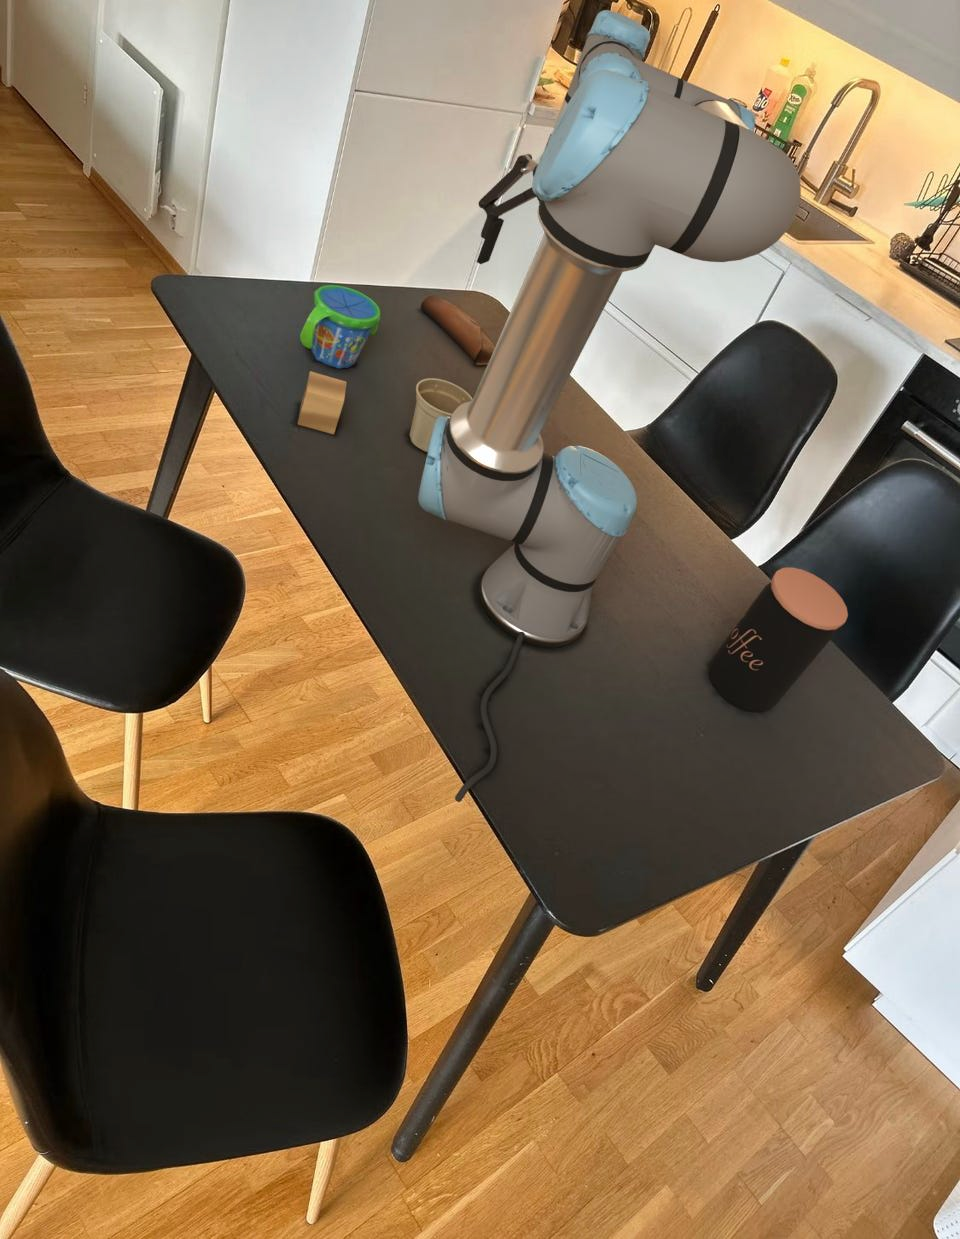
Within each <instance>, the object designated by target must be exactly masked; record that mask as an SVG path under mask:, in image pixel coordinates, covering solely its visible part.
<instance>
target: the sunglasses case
mask: <svg viewBox="0 0 960 1239" xmlns="http://www.w3.org/2000/svg"><path fill="white" fill-rule="evenodd" d="M420 310H422V311H423V312H424V313H425V314H426V315H427V316H429V317H430V319H432V320H434V322H435V323H437V324H438V325H439V326H441V328H442V329H443V330H444V331H445V332H446V333H447V334H448V335H449V336H450V337H451V338H452V339H454V341H455V342H456V343H457V344H458V345H459V346H460V347H461V348H462V349H463V350H464V351H465V353H466V354H467V355H469V357H470V358H471V359H472V360H473V361H474V362H475V365H476V366H487V365H488V363H489V361H490V358H491V356H492V354H493V351H494V349H495V347H496V345H494V343H493V342H492V341H491V339H489V337H488V336H487V335H486V334H485V333H484V331H482V327H481V326H480V325H479V324H478V323H477V321H475V320H474V319H473V318H472V317H471V316H470V315H468V314H466V312H464V311H463V310H462V309H461V308H459V307H457V305H454V304H453V303H451V302H449V301H448V300H445V299H443V298H441V297H439V296H436V295H429V296H427V297H426V298H424V299H423V301H422V302H421V305H420Z"/></svg>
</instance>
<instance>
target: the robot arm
mask: <svg viewBox="0 0 960 1239" xmlns="http://www.w3.org/2000/svg"><path fill="white" fill-rule="evenodd" d="M650 40H651V34H650V31H649V30H648V29H647V28H646V26H644V25H642V24H641V23H640V22H638V21H636V20H634V19H632V18H630V17H629V16H627V15H624V14H621V13H619V12H616V11H613V10H609V9H604V10H601V11H600V12H598V13H597V15H596V17H595V18H594V21H593V24H592V26H591V29H590V30H589V32H587V35H586V41H585V43H584V46H583V48H582V51H581V53H580V56H579V59H578V62H577V65H576V67H575V70H574V73H573V74H572V79H571V81H570V84H569V86H568V89H567V91H566V94H565V96H564V98H563V101H562V103H561V106H560V107H559V111H558V113H557V116H556V118H555V121H554V123H553V126H552V127H553V130H552V132H551V133H550V134H549V137H548V139H547V142H546V145H545V147H544V150H543V152H542V155H541V156H540V159H539V161H538V162H537V161H535V160H534V159H533V155H532V154H530V153H525V154H521V155H519V156H518V157H517V158H516V161H515V162H514V164H513V167H512V168H511V169H510V170H509V172H507V173H506V174H505V175H504V176H503V178H501V179H500V180H499V181H498V182H497V183H496V184H495V185H494V186H493V187H492V188H490V190H488V192H487V193H486V194H484V196H483V197H481V198H480V200H478V203H477V204H478V207H479V208H480V209H482V210H483V211H484V212H485V214H486V218H485V221H484V223H483V227H482V229H481V232H480V238H482V239H484V241H483V242H482V246H481V249H480V252H479V254H478V256H477V260H476V263H478V264H479V265H483V264H485V263H488V262H489V261H490V260H491V256H492V255H493V252H494V249H495V246H496V243H497V240H498V238H499V235H500V232H501V230H502V228H503V225H504V222H505V219H503V218H501V216H503V215H504V214H506V213H508V212H510V211H512V210H514V209H516V208H518V207H519V206H521V205H524V204H525V203H527V202H529V201H531V200H534V199H535V198H537V199H536V200H537V201H538V207H537V218H538V222H539V223H540V226H541V228H542V230H543V231H544V233H543V235H542V238H541V239H540V243H539V244H538V247H537V249H536V251H535V254H534V256H533V258H532V261H531V263H530V265H529V267H528V270H527V272H526V275H525V276H524V279H523V282H522V284H521V286H520V288H519V290H518V294H517V295H516V298H515V300H514V302H513V305H512V307H511V309H510V311H509V315H508V316H507V319H506V321H505V324H504V326H503V328H502V331H501V333H500V335H499V337H498V340H497V342H496V344H495V349H494V351H493V354H492V356H491V358H490V361H489V363H488V365H486V368H485V369H484V372H483V375H482V377H481V379H480V382H479V383H478V386H477V389H476V391H475V393H474V395H473V397H472V399H473V400H472V401H469V402H466V403H464V404H462V405H460V406H459V407H458V408H457V409H456V410H455V411H454V412H453V414H452V416H451V418H450V417H448V416H447V417H443V416H440V417H438V418H437V419H436V421H435V425H434V428H433V432H432V436H431V441H430V445H429V449H428V452H427V455H426V458H425V464H424V467H423V471H422V476H421V480H420V486H419V490H418V496H417V501H418V504H419V506H420V507H421V509H423V511H425V512H427V513H429V514H431V515H433V516H436V517H438V518H440V519H442V520H443V521H446V522H449V523H455V524H458V525H461V526H463V527H467V528H470V529H473V530H476V531H479V532H482V533H485V534H488V535H490V536H494V537H496V538H500V539H502V540H506V541H509V542H512V543H513V545H511V546H510V547H509V548H508V549H507V550H505V552H503V553H502V554H501V555H500V556H499V557H498V558H497V559H496V560H495V561H494V562H492V563H491V564H490V565H489V567H487V569H486V570H485V572H484V574H483V575H482V577H481V580H480V582H479V584H478V598H479V602H480V604H481V607H482V609H483V611H484V612H485V614H486V615H487V616H488V618H489V619H490V620H491V621H492V622H493V623H494V624H495V625H496V626H497V627H498V628H499V629H500V630H502V631H503V632H504V633H506V634H508V635H509V636H511V637H513V638H514V639H516V640H515V642H514V645H513V647H512V650H511V652H510V656H509V658H508V660H507V663H506V665H505V667H504V668H503V670H502V671H501V672H500V673H499V675H497V677H496V678H495V679H494V680H492V681H491V683H490V684H488V686H487V687H486V689H485V690H484V692H483V694H482V696H481V699H480V705H479V707H480V708H479V712H480V713H479V714H480V719H481V722H482V726H483V729H484V732H485V734H486V737H487V740H488V745H489V759H488V761H487V763H486V764H485V766H484V767H483V768H482V769H480V770H479V771H478V772H476V773H474V774H473V775H472V776H470V777H469V778H468V779H467V780H466V781H465V783H463V785H462V786H461V787H460V788H459V790H458V792H457V793H456V795H455V797H454V800H455V802H457V803H460V802H462V801H463V799H464V798H465V797H466V795H467V793H468V792H469V790H470V789H471V788H472V787H473V786H474V785H475V784H476V783H477V782H479V781H480V780H481V779H483V778H484V777H486V776H487V775H489V774H490V773H491V771H493V769H494V767H495V765H496V763H497V759H498V745H497V739H496V736H495V733H494V730H493V728H492V725H491V722H490V719H489V715H488V703H489V699H490V697H491V695H492V694H493V692H494V691H495V689H496V688H497V687H498V686H499V685H500V684H501V683H502V682H503V681H504V680H505V679H506V678H507V677H508V676H509V674H510V672H511V671H512V669H513V667H514V665H515V663H516V660H517V659H518V658H517V657H518V655H519V652H520V649H521V647H522V644H523V643H526V644H528V645H532V646H535V647H539V648H548V649H551V648H554V649H555V648H561V647H565V646H568V645H570V644H572V643H574V642H575V641H576V640H577V639H578V638H579V637H580V635H581V634H582V632H583V630H584V628H585V627H586V625H587V622H588V619H589V615H590V614H589V613H590V606H591V601H592V594H593V593H592V592H593V587H594V586H595V583H596V581H597V579H598V578H599V576H600V574H601V573H602V571H603V569H604V568H605V566H606V564H607V562H608V561H609V559H610V557H611V556H612V555H613V552H614V550H615V549H616V547H617V545H618V543H619V542H620V541H621V539H622V538H623V536H624V535H625V534H626V533H627V531H628V528H629V526H630V523H631V520H632V518H633V516H634V514H635V512H636V511H637V505H638V498H637V493H636V489H635V487H634V485H633V483H632V481H631V480H630V479H629V477H628V476H627V475H626V474H625V472H623V470H622V469H621V467H619V466H618V465H617V464H616V463H615V462H613V461H612V460H611V459H609V458H608V457H607V456H605V455H603V454H602V453H600V452H598V451H596V450H593V449H592V448H588V447H587V446H586V447H585V446H583V445H574V446H573V445H568V446H567V445H566V446H565V447H563V448H562V449H560V451H557V453H556V455H555V456H554V455H550V454H548V453H545V452H544V441H543V439H542V435H541V431H543V430H542V429H543V428H544V426H545V424H546V422H547V420H548V418H549V416H550V414H551V412H552V411H553V409H554V406H555V405H556V403H557V401H558V399H559V397H560V395H561V393H562V391H563V389H564V388H565V386H566V383H567V381H568V380H569V378H570V375H571V374H572V371H573V370H574V368H575V365H576V364H577V362H578V360H579V358H580V356H581V354H582V352H583V350H584V348H585V347H586V344H587V342H588V341H589V338H590V337H591V335H592V333H593V330H594V329H595V327H596V325H597V323H598V322H599V319H600V317H601V315H602V314H603V311H604V310H605V307H606V305H607V304H608V302H609V300H610V298H611V296H612V294H613V292H614V290H615V288H616V286H617V284H618V282H619V280H620V278H621V277H622V275H623V273H625V272H629V271H633V270H636V269H639V268H641V267H642V266H644V265H645V263H647V261H648V259H649V257H650V255H651V253H652V251H653V250H654V248H655V246H658V247H661V248H664V249H666V250H669V251H671V252H673V253H676V254H679V255H681V256H685V257H687V258H690V259H693V260H697V261H701V262H710V263H727V262H735V261H742V260H744V259H747V258H751V257H753V256H756V255H759V254H761V253H762V252H764V251H766V250H767V249H769V248H771V247H772V246H773V245H775V244H776V243H777V242H778V241H780V240H781V238H782V237H783V236H784V234H785V233H787V231H788V230H789V228H790V227H791V226H792V224H793V223H794V222H795V218H796V216H797V213H798V211H799V207H800V202H801V198H802V197H801V196H802V195H801V194H802V190H801V189H802V186H801V179H800V175H799V173H798V170H797V168H796V166H795V163H794V162H793V161H792V159H791V157H789V155H787V153H786V152H785V151H784V150H783V149H782V148H781V147H780V146H778V144H776V143H774V142H773V141H770V140H768V139H766V138H765V137H763V136H761V135H759V134H758V133H756V132H755V127H756V126H755V125H756V117H755V114H754V112H753V111H752V110H751V109H749V108H747V107H745V106H743V105H741V104H740V103H739V102H738V101H735V100H733V99H731V98H725V97H723V96H721V95H718V94H717V93H714V92H712V91H709V90H708V89H705V88H703V87H700V86H698V85H695V84H693V83H691V82H689V81H686V80H684V79H683V78H680V77H678V76H676V75H673V74H672V73H669V72H667V71H665V70H662V69H660V68H658V67H656V66H654V65H651V64H649V63H647V62H645V61H643V60H644V59H645V57H646V50H647V48H648V45H649V43H650ZM531 172H532V177H533V179H532V182H531V183H532V184H531V187H530V188H527V189H525V190H524V191H523V192H521V193H519V194H517V195H515V196H513V197H511V198H509V199H508V200H505V201H504V202H502V203H500V204H498V205H497V204H495V203H496V202H497V201H498V200H499V199H500V198H501V197H503V195H505V194H506V193H507V192H508V191H509V190H510V189H511V188H512V187H513V186H515V184H516V183H517V182H519V180H521V178H522V177H523V176H525V175H528V174H530V173H531ZM468 789H469V790H468Z"/></svg>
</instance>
